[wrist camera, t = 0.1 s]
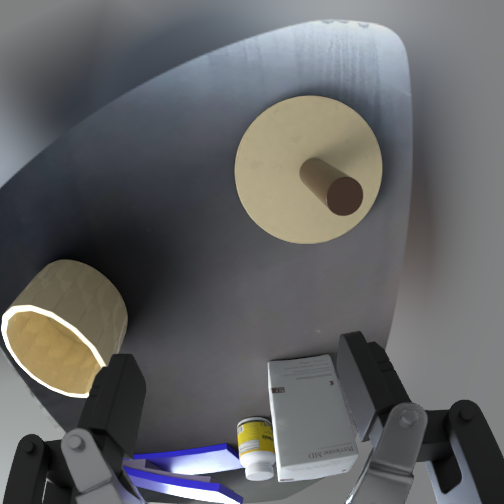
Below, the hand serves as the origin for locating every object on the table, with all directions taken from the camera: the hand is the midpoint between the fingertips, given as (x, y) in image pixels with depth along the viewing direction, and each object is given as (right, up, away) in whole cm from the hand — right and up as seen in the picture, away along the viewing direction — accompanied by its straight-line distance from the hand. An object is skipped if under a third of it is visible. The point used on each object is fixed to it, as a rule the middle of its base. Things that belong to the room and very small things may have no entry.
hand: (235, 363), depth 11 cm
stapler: (-15, -38, +38) cm, 56 cm away
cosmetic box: (+6, -11, +27) cm, 30 cm away
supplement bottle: (+1, -23, +32) cm, 39 cm away
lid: (+6, +11, +15) cm, 19 cm away
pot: (-19, -2, +20) cm, 27 cm away
